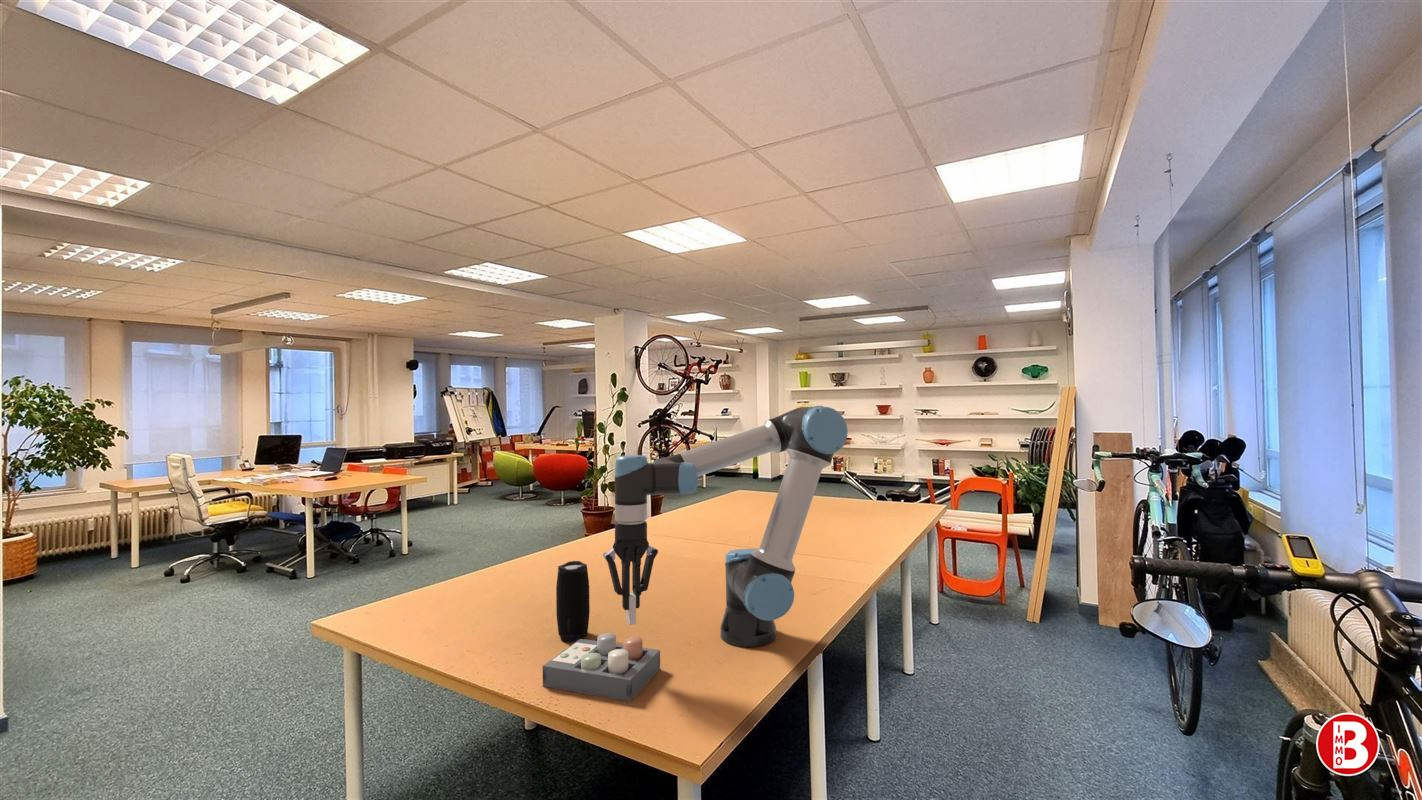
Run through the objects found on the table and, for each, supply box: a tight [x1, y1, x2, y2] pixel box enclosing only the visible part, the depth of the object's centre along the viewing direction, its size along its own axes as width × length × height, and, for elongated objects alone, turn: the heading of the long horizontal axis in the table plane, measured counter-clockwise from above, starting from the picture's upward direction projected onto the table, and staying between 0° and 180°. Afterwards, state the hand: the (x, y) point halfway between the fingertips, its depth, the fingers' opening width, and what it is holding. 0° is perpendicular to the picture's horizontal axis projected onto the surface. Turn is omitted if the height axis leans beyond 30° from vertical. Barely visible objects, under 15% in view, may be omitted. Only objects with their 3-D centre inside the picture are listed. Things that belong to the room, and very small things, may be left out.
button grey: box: [596, 632, 617, 657], centre depth 126 cm, size 4×4×4 cm
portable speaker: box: [555, 560, 591, 643], centre depth 146 cm, size 9×9×20 cm
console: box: [542, 638, 661, 703], centre depth 123 cm, size 22×15×5 cm
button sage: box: [581, 653, 601, 671], centre depth 120 cm, size 4×4×4 cm
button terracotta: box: [622, 636, 644, 661], centre depth 124 cm, size 4×4×4 cm
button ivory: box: [608, 649, 629, 675], centre depth 117 cm, size 4×4×4 cm
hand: (631, 622), depth 124 cm, fingers closed
